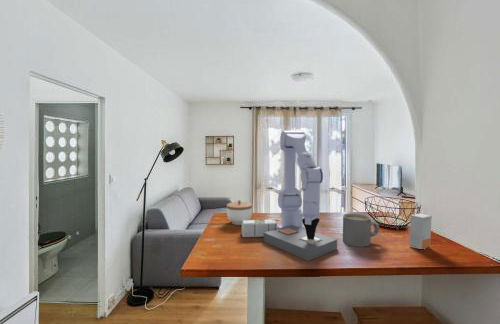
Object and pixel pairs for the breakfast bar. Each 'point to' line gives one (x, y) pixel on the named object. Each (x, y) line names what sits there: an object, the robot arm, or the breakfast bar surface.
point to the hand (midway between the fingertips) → (310, 239)
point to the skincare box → (420, 231)
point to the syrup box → (257, 227)
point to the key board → (300, 243)
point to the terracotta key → (288, 231)
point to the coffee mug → (358, 229)
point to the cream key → (311, 240)
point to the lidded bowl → (239, 211)
